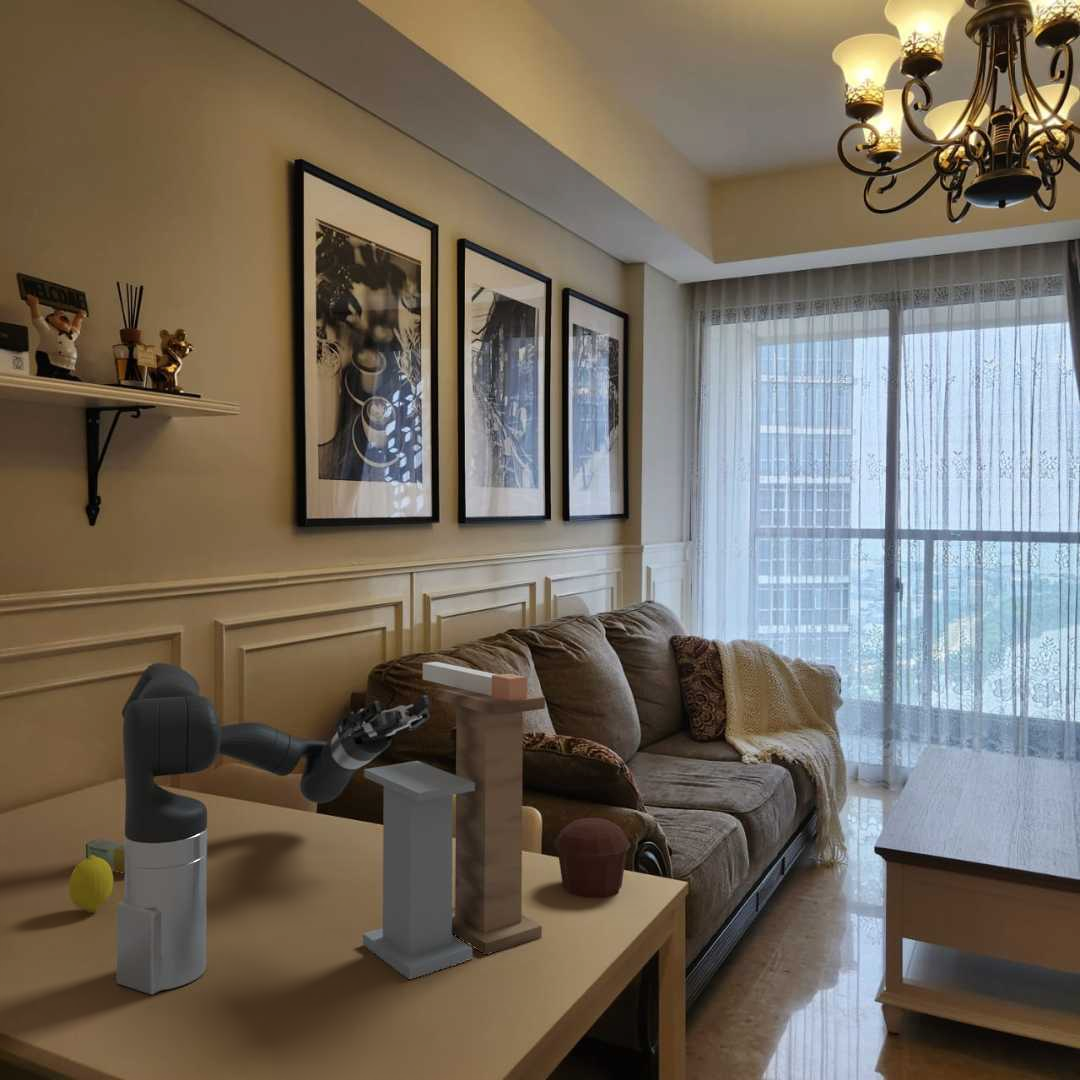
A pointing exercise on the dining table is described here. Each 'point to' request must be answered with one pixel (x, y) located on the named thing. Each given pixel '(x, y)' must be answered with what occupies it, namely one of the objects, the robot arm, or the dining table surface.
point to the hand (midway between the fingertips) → (402, 703)
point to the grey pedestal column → (417, 869)
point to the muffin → (592, 857)
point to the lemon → (91, 883)
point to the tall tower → (490, 820)
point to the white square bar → (477, 680)
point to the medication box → (108, 853)
